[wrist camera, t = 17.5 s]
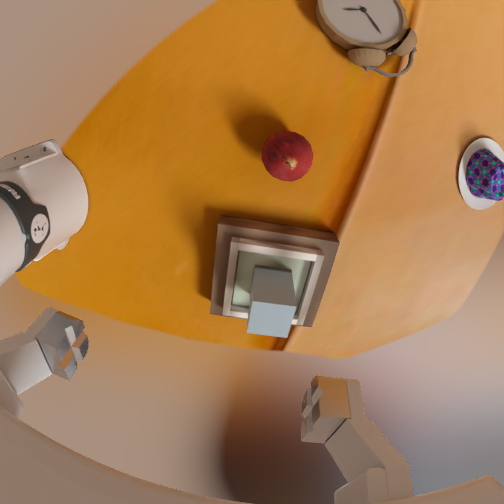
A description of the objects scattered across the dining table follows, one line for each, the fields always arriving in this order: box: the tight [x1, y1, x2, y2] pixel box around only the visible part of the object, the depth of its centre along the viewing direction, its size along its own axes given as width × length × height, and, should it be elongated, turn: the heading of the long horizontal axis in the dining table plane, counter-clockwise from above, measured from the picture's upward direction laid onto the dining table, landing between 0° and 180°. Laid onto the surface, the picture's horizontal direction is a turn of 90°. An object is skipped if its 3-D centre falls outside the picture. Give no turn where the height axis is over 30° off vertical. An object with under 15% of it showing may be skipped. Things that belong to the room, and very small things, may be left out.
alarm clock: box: [315, 0, 417, 77], centre depth 25 cm, size 11×5×15 cm
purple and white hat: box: [458, 138, 504, 210], centre depth 32 cm, size 12×12×5 cm
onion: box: [262, 131, 313, 181], centre depth 32 cm, size 6×6×8 cm
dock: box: [210, 215, 339, 327], centre depth 42 cm, size 16×15×4 cm
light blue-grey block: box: [247, 264, 297, 338], centre depth 37 cm, size 5×5×8 cm
